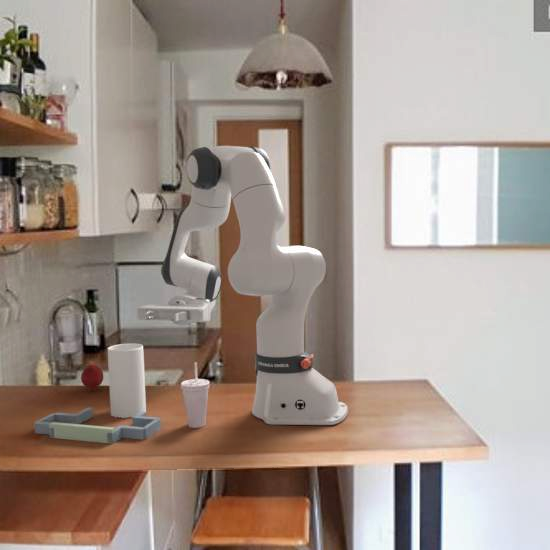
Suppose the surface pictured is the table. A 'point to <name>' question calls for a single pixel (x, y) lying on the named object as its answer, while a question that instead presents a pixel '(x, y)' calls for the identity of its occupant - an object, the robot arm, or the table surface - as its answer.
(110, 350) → the cup
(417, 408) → the table surface
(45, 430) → the box
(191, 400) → the smoothie
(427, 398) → the table surface
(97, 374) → the onion
